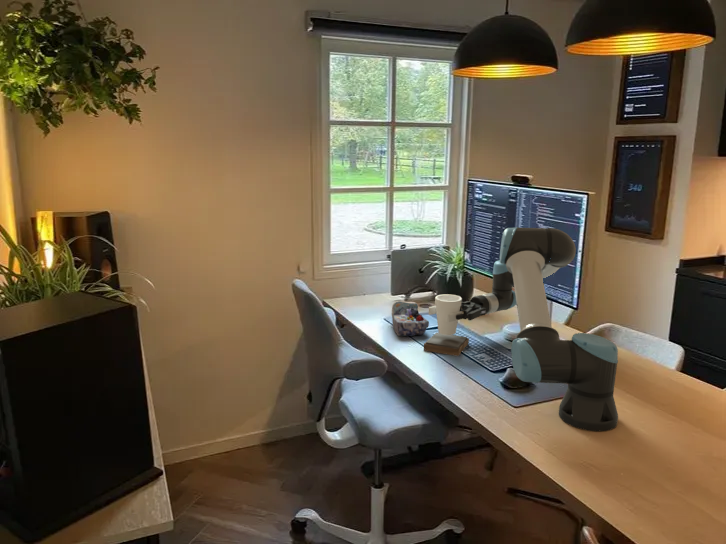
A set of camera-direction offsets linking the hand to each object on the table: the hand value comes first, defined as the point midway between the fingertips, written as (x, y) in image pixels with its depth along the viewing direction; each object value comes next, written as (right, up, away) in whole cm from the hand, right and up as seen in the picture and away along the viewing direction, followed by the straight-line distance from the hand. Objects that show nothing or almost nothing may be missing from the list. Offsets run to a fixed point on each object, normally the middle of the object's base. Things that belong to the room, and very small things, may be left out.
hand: (438, 314), depth 206 cm
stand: (+4, -12, +5) cm, 14 cm away
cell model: (-10, -8, +24) cm, 27 cm away
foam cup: (+4, -7, +4) cm, 9 cm away
